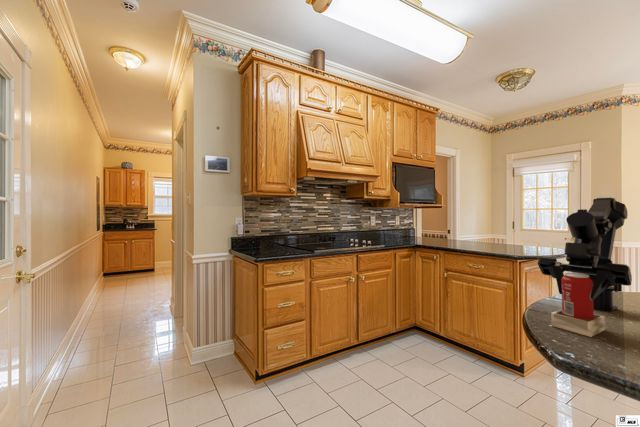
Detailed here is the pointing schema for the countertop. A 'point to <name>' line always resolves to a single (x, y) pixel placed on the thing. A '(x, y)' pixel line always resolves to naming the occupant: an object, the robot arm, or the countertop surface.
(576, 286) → the beverage can
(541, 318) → the countertop surface
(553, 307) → the countertop surface
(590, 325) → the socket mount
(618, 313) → the countertop surface
